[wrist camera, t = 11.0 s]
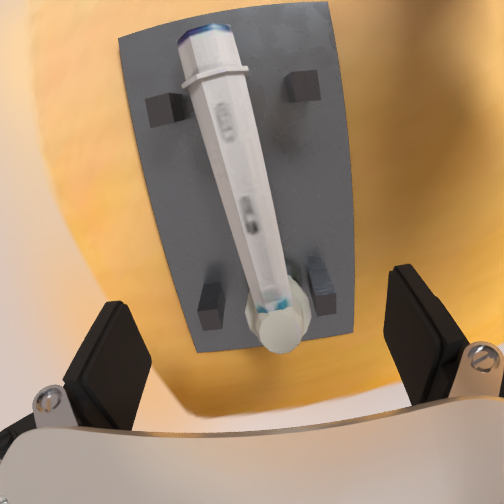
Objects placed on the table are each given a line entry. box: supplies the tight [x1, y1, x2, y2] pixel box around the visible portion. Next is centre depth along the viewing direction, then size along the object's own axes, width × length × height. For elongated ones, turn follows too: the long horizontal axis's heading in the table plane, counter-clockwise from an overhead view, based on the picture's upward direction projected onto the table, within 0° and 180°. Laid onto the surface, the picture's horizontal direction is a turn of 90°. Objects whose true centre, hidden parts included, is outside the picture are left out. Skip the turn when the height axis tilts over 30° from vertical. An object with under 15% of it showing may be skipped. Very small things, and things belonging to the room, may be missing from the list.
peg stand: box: [118, 2, 355, 353], centre depth 24 cm, size 30×16×5 cm, turn 9°
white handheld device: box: [176, 23, 312, 354], centre depth 23 cm, size 5×7×25 cm
